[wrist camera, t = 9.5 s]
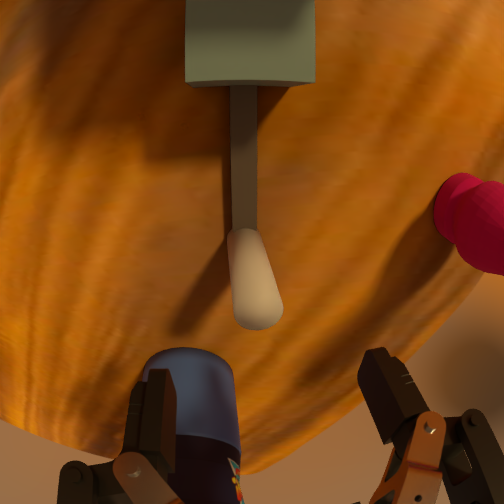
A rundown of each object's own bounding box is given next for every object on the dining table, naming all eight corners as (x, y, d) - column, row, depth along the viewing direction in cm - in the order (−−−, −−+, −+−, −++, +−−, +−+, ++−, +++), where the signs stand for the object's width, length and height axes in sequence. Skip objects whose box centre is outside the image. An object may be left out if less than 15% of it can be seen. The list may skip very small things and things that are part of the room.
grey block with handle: (193, 2, 13) (181, -54, 6) (290, 3, 14) (334, -45, 7) (202, 256, 22) (199, 333, 15) (284, 252, 22) (315, 324, 15)
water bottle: (145, 397, 29) (136, 610, 7) (140, 340, 25) (116, 627, 3) (227, 404, 31) (253, 613, 9) (242, 350, 27) (287, 629, 5)
